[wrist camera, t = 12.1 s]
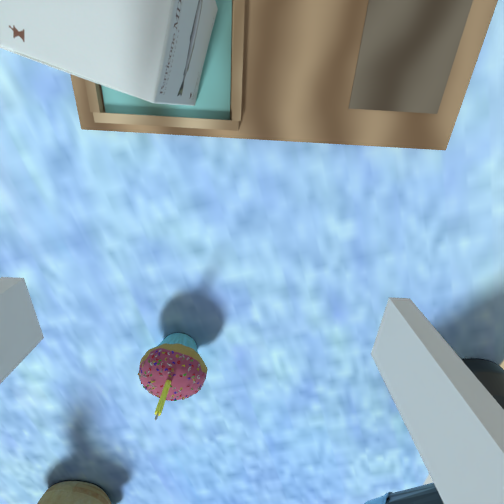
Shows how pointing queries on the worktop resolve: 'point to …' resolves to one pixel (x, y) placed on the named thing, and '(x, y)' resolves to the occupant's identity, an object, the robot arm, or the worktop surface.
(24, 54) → the supplement box
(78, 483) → the ceramic vessel
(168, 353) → the cupcake
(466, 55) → the board
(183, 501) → the worktop surface
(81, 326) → the worktop surface
